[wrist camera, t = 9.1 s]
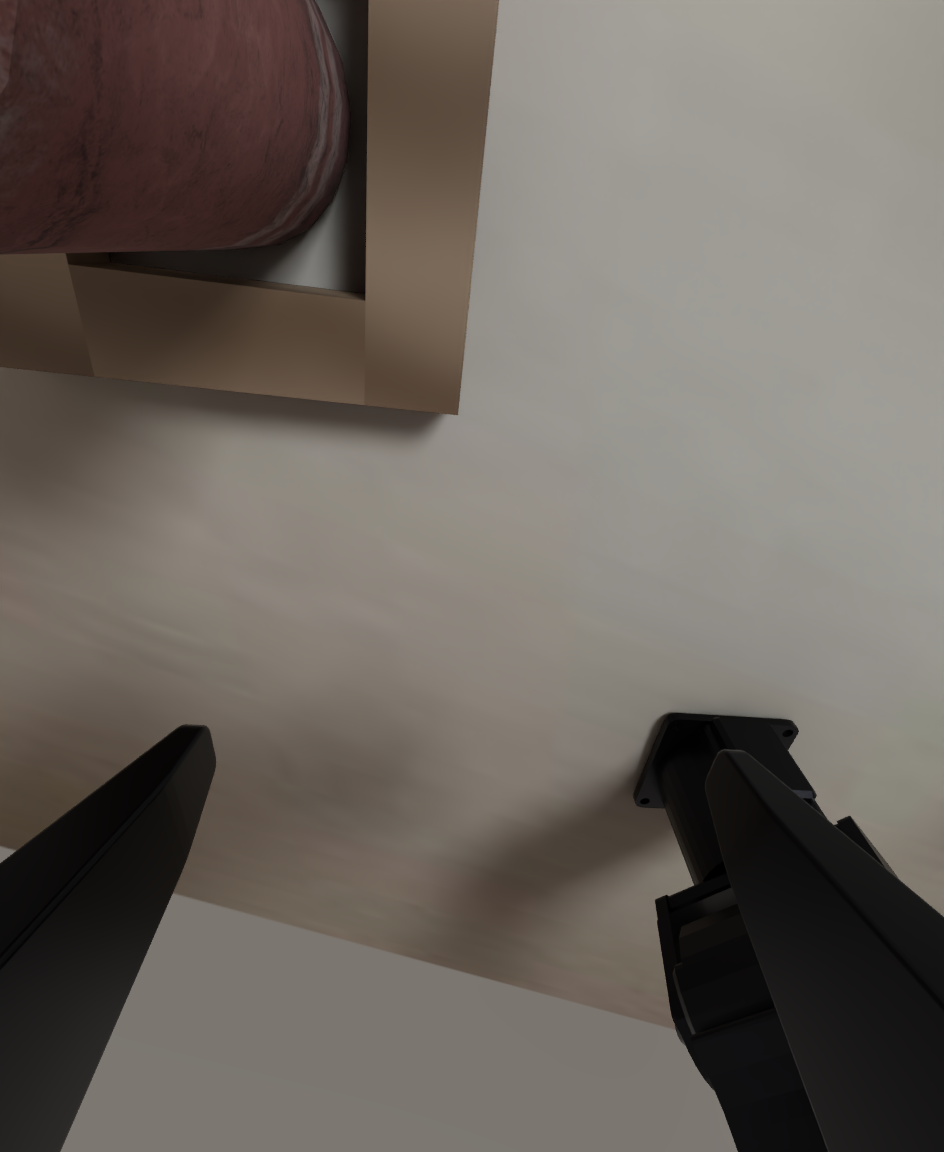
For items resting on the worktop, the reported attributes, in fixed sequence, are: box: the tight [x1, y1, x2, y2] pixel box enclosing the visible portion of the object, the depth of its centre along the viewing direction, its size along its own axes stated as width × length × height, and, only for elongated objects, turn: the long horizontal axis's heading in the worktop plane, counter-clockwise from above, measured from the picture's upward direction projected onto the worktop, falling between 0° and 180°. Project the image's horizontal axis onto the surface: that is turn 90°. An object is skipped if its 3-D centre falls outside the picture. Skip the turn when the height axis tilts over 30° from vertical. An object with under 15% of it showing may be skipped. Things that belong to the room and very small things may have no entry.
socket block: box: [0, 0, 499, 415], centre depth 13 cm, size 13×13×2 cm
